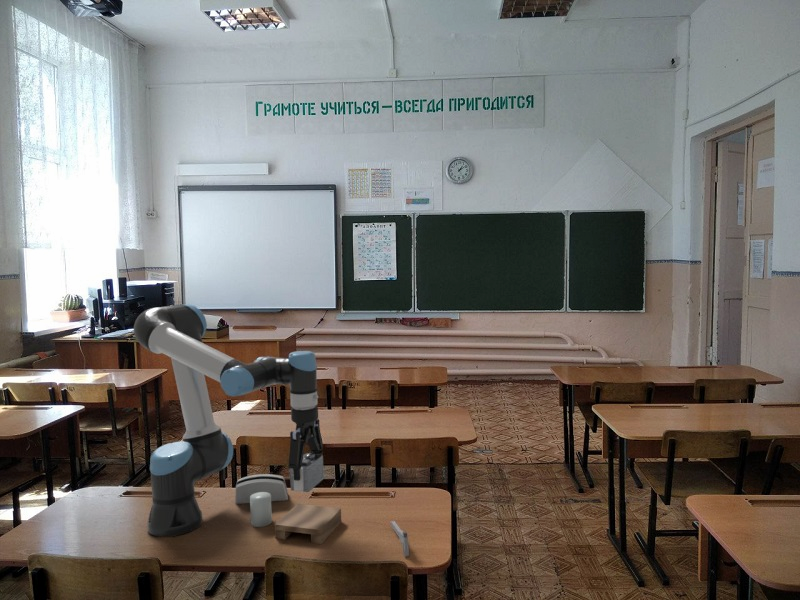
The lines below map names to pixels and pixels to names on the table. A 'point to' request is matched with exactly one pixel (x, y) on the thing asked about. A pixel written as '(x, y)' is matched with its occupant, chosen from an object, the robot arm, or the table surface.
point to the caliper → (401, 538)
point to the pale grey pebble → (260, 509)
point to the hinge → (261, 487)
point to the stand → (309, 522)
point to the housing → (310, 471)
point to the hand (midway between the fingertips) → (307, 483)
